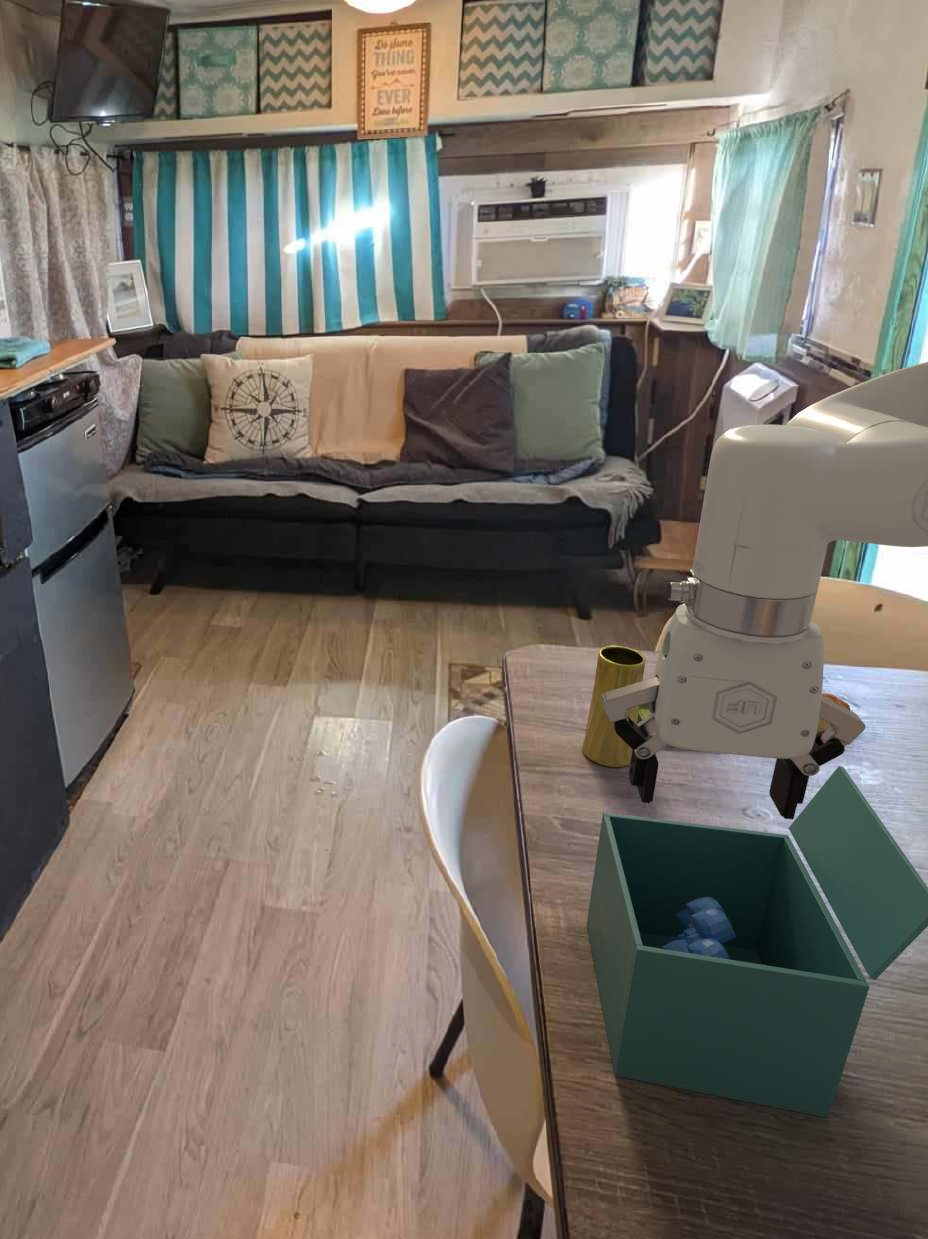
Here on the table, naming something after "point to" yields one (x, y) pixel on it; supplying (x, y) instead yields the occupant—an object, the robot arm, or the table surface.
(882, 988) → the table surface
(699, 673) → the robot arm
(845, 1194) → the table surface
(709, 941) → the grapes
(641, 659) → the vase
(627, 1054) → the carton
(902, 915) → the flap
